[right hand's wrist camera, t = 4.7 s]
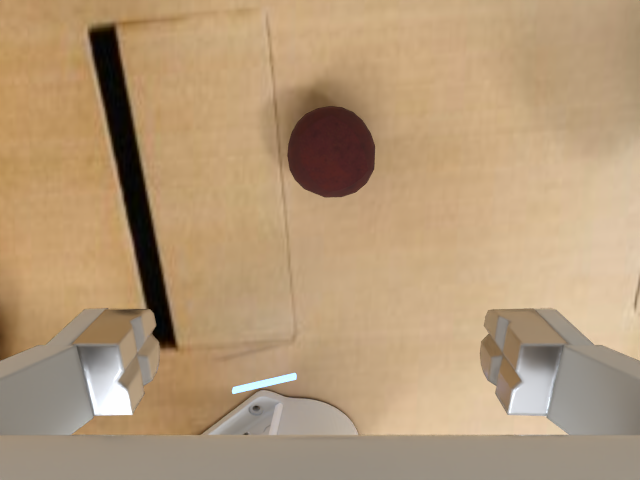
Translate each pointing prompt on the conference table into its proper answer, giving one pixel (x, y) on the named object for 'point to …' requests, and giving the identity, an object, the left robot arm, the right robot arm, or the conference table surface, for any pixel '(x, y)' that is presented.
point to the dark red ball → (331, 152)
